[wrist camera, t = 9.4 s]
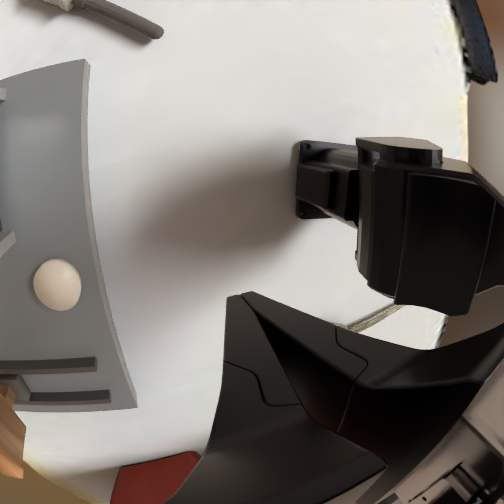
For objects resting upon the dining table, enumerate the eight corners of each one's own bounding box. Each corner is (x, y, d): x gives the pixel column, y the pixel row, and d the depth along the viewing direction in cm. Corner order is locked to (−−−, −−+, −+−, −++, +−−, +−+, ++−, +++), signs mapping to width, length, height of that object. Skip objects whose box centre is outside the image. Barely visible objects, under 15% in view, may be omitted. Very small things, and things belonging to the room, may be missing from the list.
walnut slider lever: (11, 356, 16) (-13, 439, 8) (38, 402, 19) (31, 479, 11) (-20, 356, 15) (-46, 431, 7) (9, 401, 17) (-3, 473, 10)
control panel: (90, 66, 14) (72, 41, 9) (136, 393, 25) (141, 436, 20) (-69, 118, 8) (-108, 122, 3) (10, 397, 19) (2, 435, 15)
